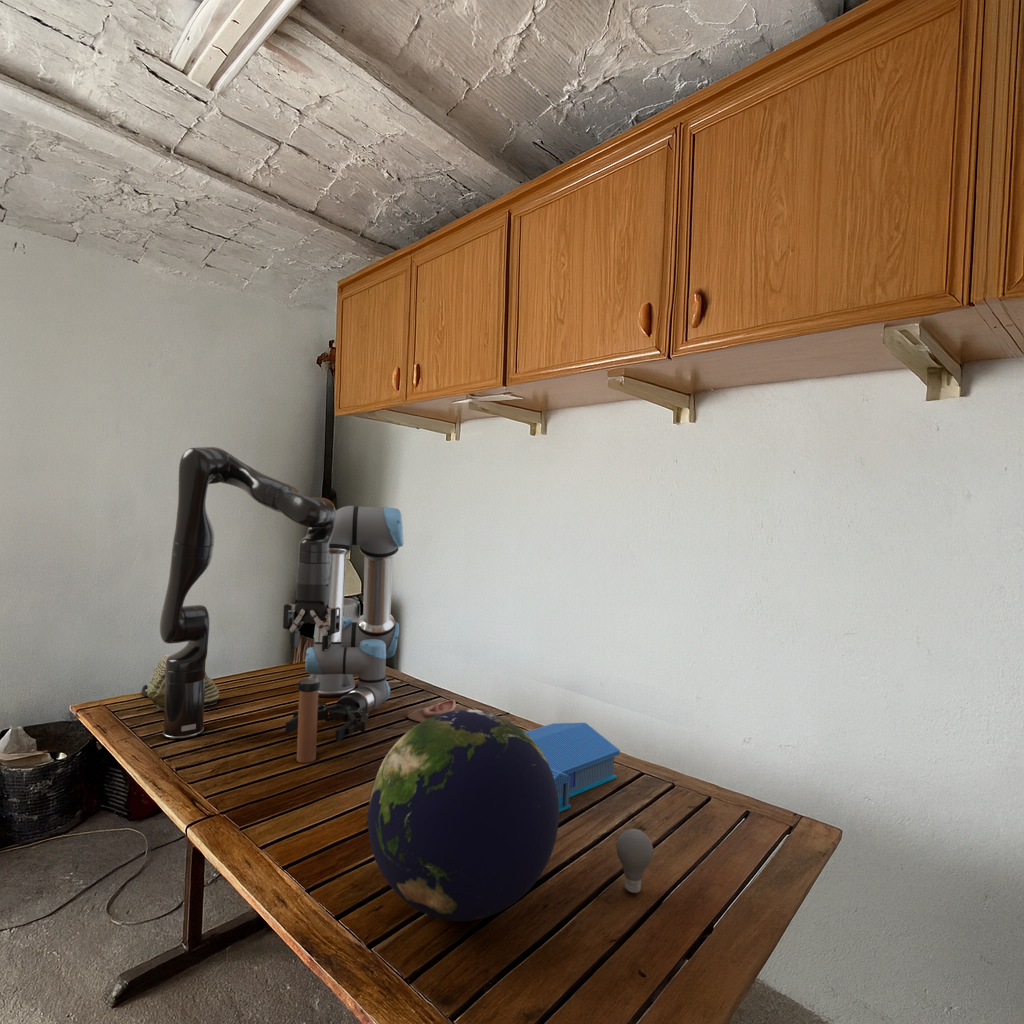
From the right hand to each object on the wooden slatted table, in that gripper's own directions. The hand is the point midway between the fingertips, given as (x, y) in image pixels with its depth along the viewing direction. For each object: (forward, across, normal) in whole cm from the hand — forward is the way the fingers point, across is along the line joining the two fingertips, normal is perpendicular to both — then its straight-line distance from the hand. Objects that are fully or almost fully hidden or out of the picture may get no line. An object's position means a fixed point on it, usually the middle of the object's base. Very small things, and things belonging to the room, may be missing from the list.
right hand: (311, 732), depth 152 cm
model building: (-4, -54, -6) cm, 54 cm away
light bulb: (+28, -78, -6) cm, 83 cm away
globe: (+40, -52, -6) cm, 66 cm away
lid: (0, +1, +12) cm, 12 cm away
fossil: (-20, +54, -7) cm, 58 cm away
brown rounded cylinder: (0, +1, -6) cm, 7 cm away
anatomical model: (-38, -16, -7) cm, 42 cm away
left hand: (0, +1, +20) cm, 20 cm away
